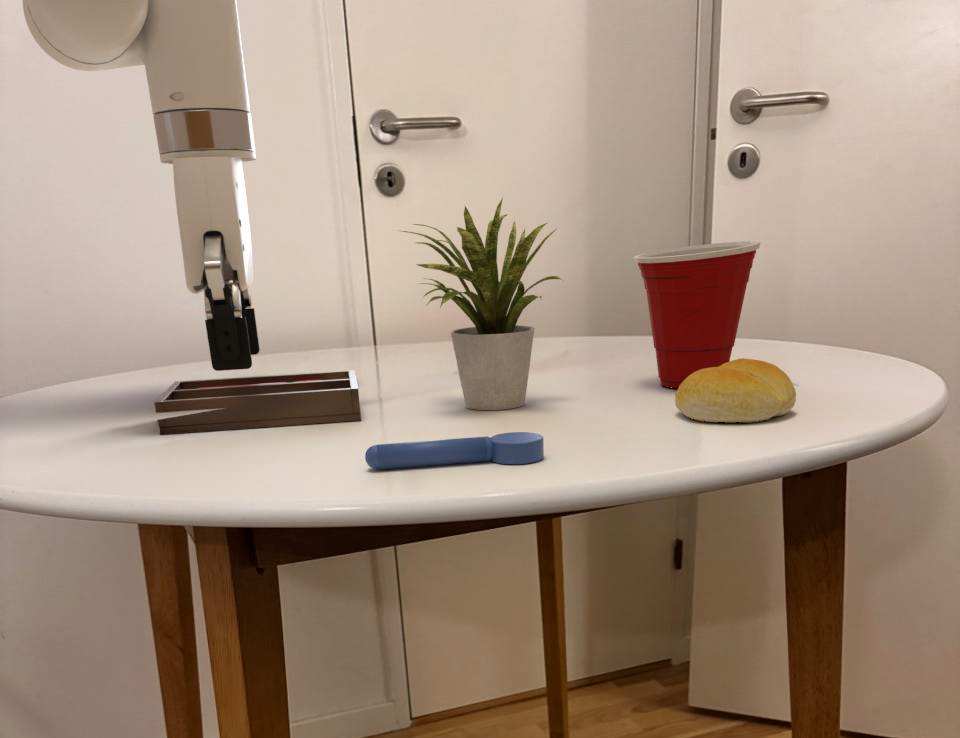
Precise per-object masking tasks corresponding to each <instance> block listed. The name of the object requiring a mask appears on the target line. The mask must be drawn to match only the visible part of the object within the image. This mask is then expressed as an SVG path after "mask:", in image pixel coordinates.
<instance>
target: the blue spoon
mask: <svg viewBox="0 0 960 738" xmlns="http://www.w3.org/2000/svg"><path fill="white" fill-rule="evenodd" d="M544 452H545V451H544V435H542V434H539V433H535V432H529V431H528V432H527V431H515V432H514V431H513V432H512V431H511V432H504V433H503V432H502V433H498V434H495V435H493V436H474V437H473V436H472V437H461V438H460V437H459V438H448V439H434V440H433V439H432V440H422V441H421V440H420V441H407V442H394V443H393V442H392V443H380V444H373V445H371V446H369V447H368V448H367V450H366V451H365V454H364V459H365V460H364V461H365V463H366V464H367V466H368V467H369V468H371V469H373V470H388V469H401V468H414V467H428V466H439V465H440V466H441V465H452V464H453V465H454V464H466V463H478V462H479V463H481V462H489V461H491V462H492V463H493V462H494V463H495V464H500V465H526V464H532V463H537V462H539V461H541V460H543V458H544V457H545V456H544V455H545V454H544Z"/></svg>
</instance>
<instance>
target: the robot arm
mask: <svg viewBox="0 0 960 738" xmlns="http://www.w3.org/2000/svg"><path fill="white" fill-rule="evenodd" d="M22 9H23V10H22V11H23V15H24V19H25V22H26V25H27V28H28V31H29V32H30V34H31V36H32V37H33V40H35V42H36V44H37V45H38V46H39V48H41V49H42V51H43V52H44V53H45V54H46V55H48V56H49V57H50V58H51V59H53V60H54V61H56V62H57V63H59V64H61V65H63V66H65V67H68V68H70V69H73V70H77V71H83V72H99V71H108V70H115V69H121V68H122V69H123V68H130V67H137V66H138V67H139V66H144V69H145V75H146V80H147V81H146V82H147V86H148V92H149V99H150V104H151V105H150V106H151V111H152V115H153V116H152V117H153V124H154V129H155V136H156V142H157V147H158V153H159V160H160V163H162V164H168V165H172V171H173V172H172V174H173V186H174V188H173V189H174V196H175V205H176V206H175V207H176V215H177V222H178V229H179V239H180V245H181V252H182V260H183V261H182V262H183V269H184V278H185V285H186V289H187V290H188V291H189V292H191V293H192V294H194V295H196V294H197V295H198V294H201V293H202V292H203V298H204V299H203V300H204V312H205V313H204V314H205V316H206V317H205V318H206V319H205V320H204V322H205V329H206V335H207V341H208V348H209V349H208V350H209V356H210V361H211V367H212V369H213V370H214V371H215V372H220V371H223V372H224V371H237V370H239V371H240V370H250V369H251V367H252V366H253V360H252V356H254V355H258V354H259V353H260V342H259V333H258V327H257V319H256V312H255V308H254V307H253V305H252V304H253V303H252V298H251V292H250V287H251V285H253V284H254V280H255V277H254V259H253V245H252V233H251V226H250V225H251V224H250V217H249V216H250V215H249V208H248V201H247V192H246V185H245V176H244V168H243V163H246V162H253V161H256V160H257V154H256V146H255V138H254V130H253V122H252V114H251V108H250V107H251V106H250V99H249V91H248V85H247V83H248V82H247V76H246V68H245V67H246V66H245V60H244V53H243V43H242V37H241V36H242V35H241V27H240V19H239V12H238V10H239V9H238V3H237V0H22Z"/></svg>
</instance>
